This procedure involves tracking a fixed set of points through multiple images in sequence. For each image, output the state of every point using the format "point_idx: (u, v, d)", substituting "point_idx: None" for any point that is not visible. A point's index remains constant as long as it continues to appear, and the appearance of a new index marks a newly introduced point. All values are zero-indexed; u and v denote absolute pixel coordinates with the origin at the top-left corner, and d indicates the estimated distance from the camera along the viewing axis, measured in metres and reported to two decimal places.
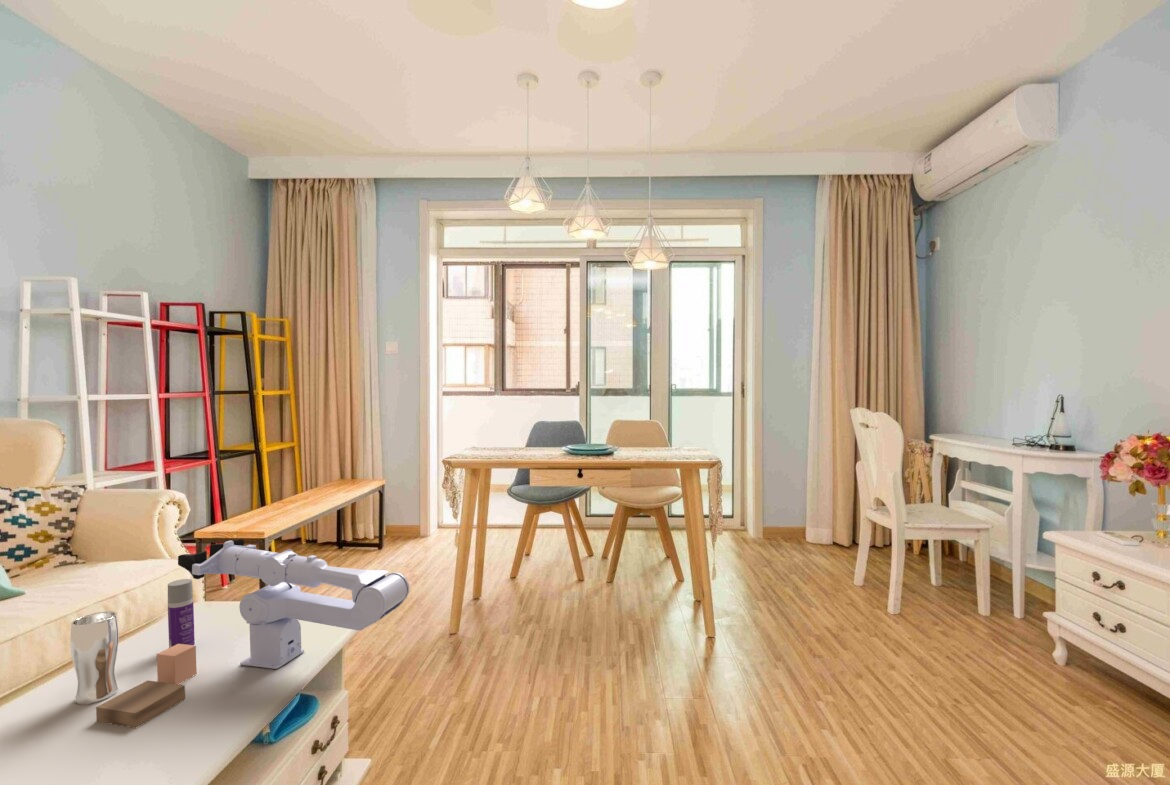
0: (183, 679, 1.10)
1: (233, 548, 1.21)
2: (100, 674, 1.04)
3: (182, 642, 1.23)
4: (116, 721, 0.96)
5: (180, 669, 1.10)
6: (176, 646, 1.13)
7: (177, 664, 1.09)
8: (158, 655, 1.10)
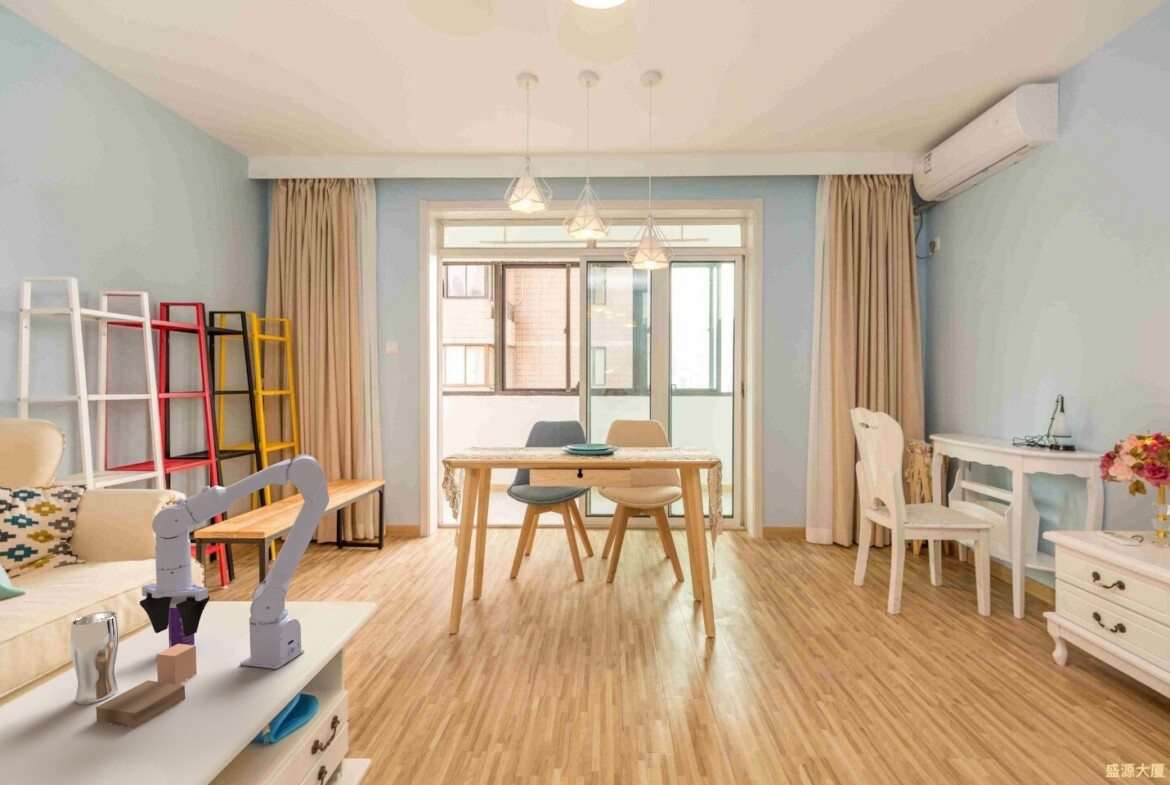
0: (183, 679, 1.10)
1: (162, 585, 1.08)
2: (100, 674, 1.04)
3: (182, 642, 1.23)
4: (116, 721, 0.96)
5: (180, 669, 1.10)
6: (176, 646, 1.13)
7: (177, 663, 1.09)
8: (158, 655, 1.10)
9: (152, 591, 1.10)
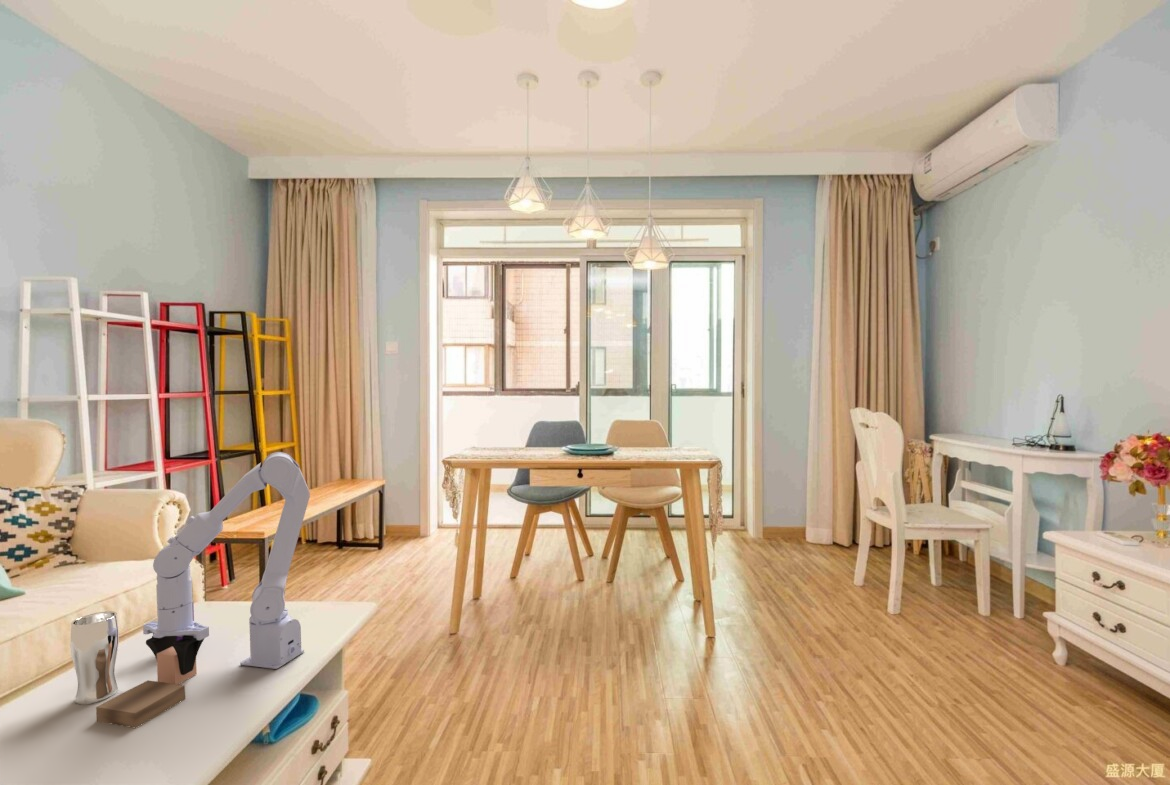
0: (183, 679, 1.10)
1: (163, 624, 1.09)
2: (100, 674, 1.04)
3: None
4: (116, 721, 0.96)
5: None
6: None
7: (177, 663, 1.09)
8: (158, 655, 1.10)
9: (153, 630, 1.10)
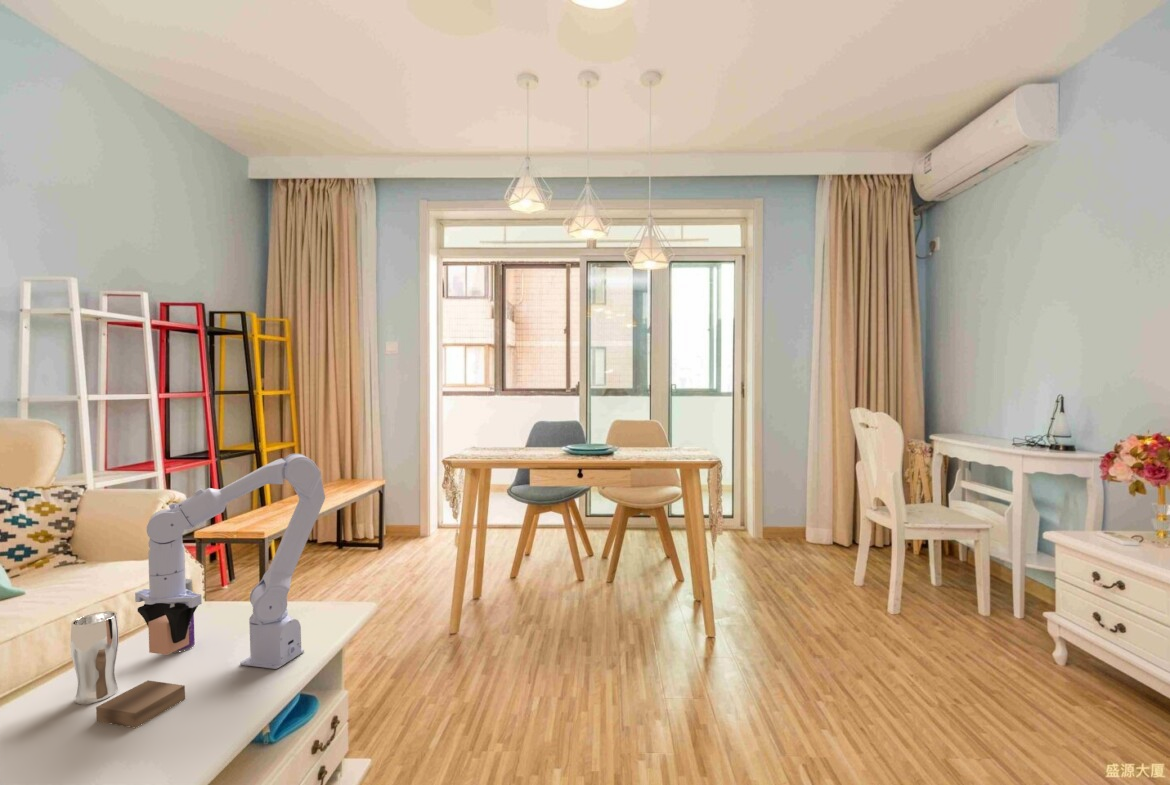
0: (175, 648, 1.08)
1: (155, 591, 1.06)
2: (100, 674, 1.04)
3: None
4: (116, 721, 0.96)
5: (171, 637, 1.08)
6: None
7: (169, 632, 1.07)
8: (150, 623, 1.08)
9: (145, 597, 1.08)
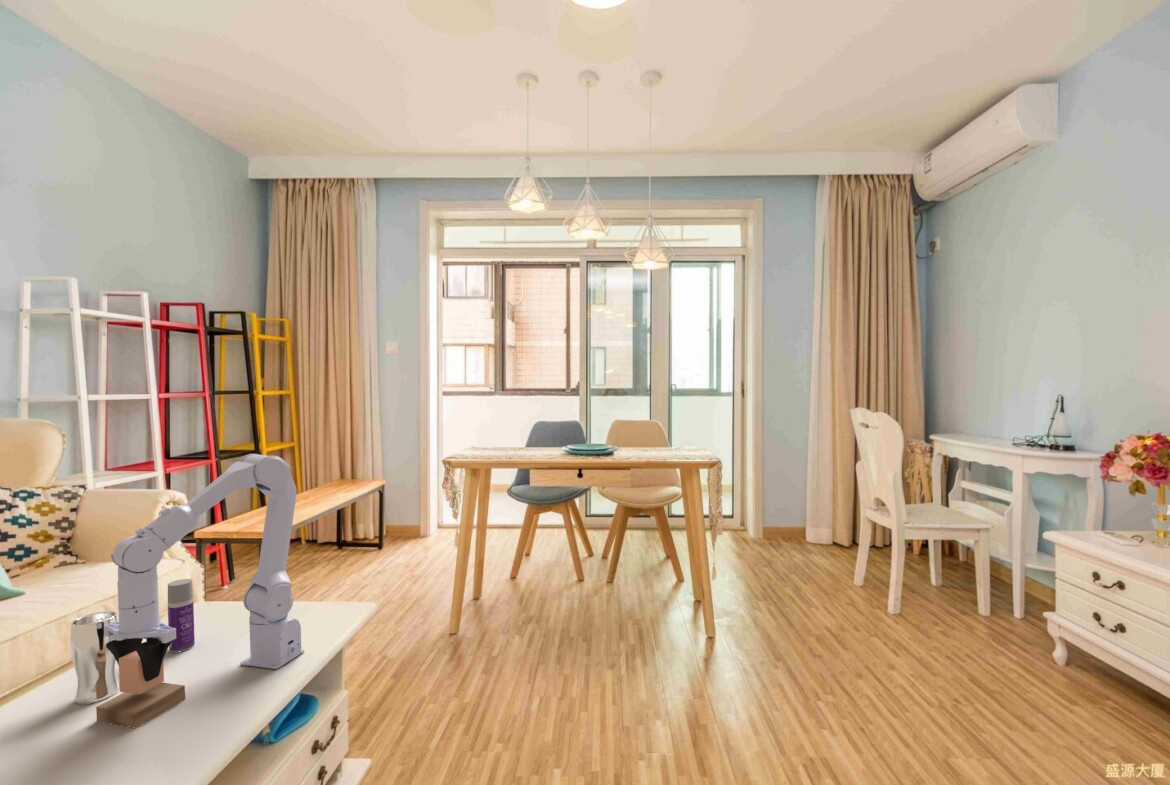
0: (148, 686, 1.00)
1: (124, 626, 0.98)
2: (100, 674, 1.04)
3: (182, 642, 1.23)
4: (116, 721, 0.96)
5: None
6: None
7: (141, 669, 0.99)
8: (120, 660, 0.99)
9: (114, 632, 0.99)
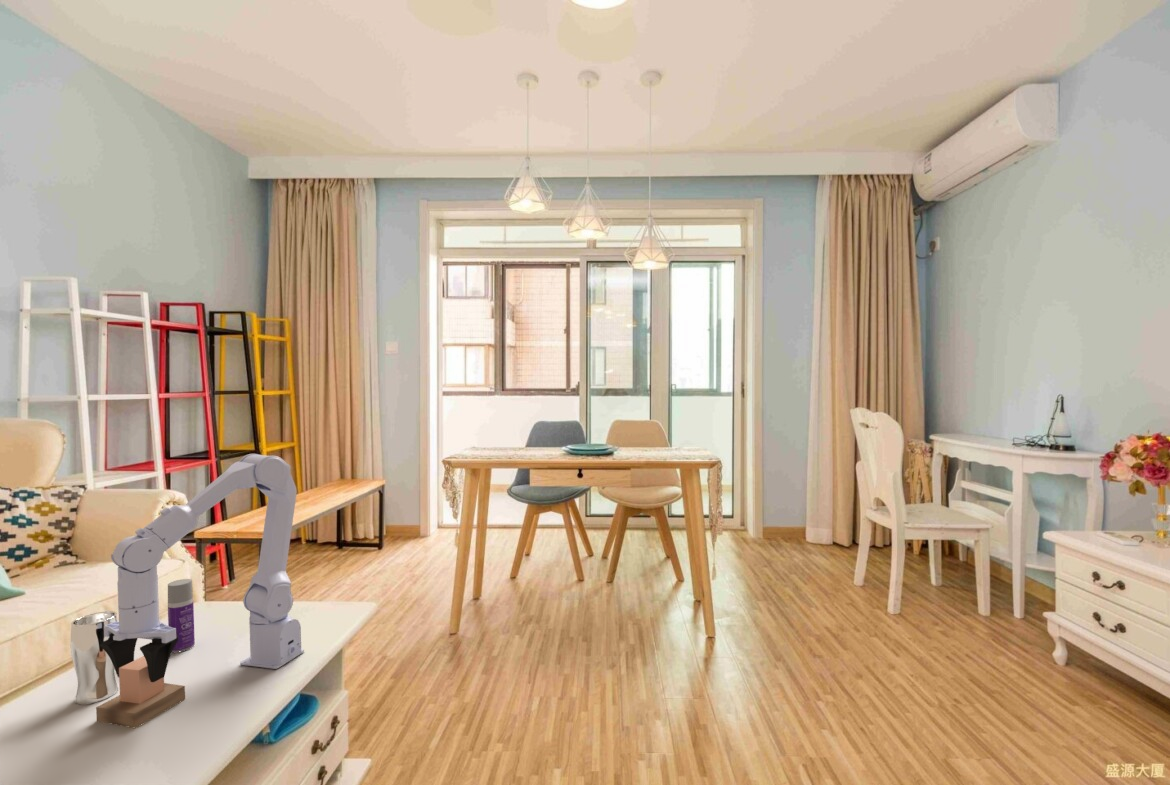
0: (149, 695, 1.00)
1: (124, 626, 0.98)
2: (100, 674, 1.04)
3: (182, 642, 1.23)
4: (116, 721, 0.96)
5: (145, 684, 0.99)
6: (141, 659, 1.02)
7: (142, 678, 0.99)
8: (120, 669, 0.99)
9: (114, 632, 0.99)
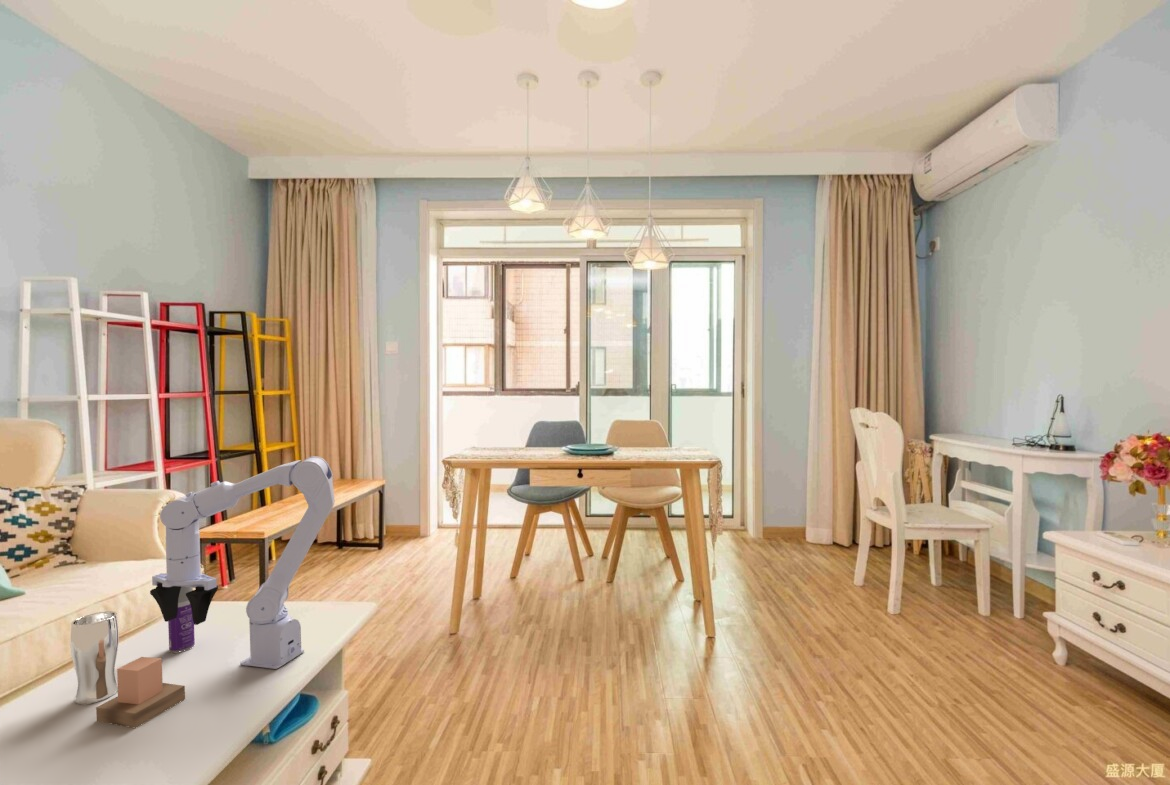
0: (147, 696, 1.00)
1: (172, 574, 1.12)
2: (100, 674, 1.04)
3: (182, 642, 1.23)
4: (116, 721, 0.96)
5: (143, 685, 0.99)
6: (139, 659, 1.02)
7: (141, 679, 0.99)
8: (119, 670, 0.99)
9: (162, 580, 1.13)
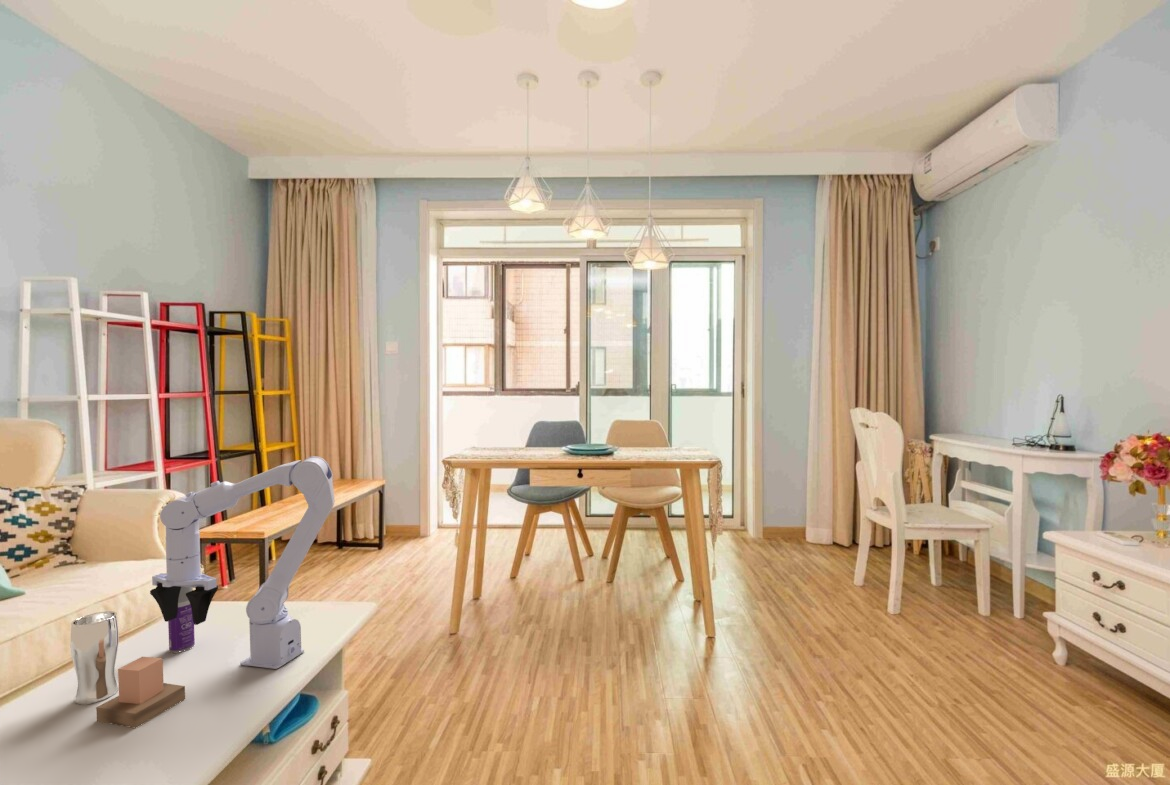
0: (149, 696, 1.00)
1: (172, 574, 1.12)
2: (100, 674, 1.04)
3: (182, 642, 1.23)
4: (116, 721, 0.96)
5: (145, 684, 0.99)
6: (140, 659, 1.02)
7: (142, 679, 0.99)
8: (119, 670, 0.99)
9: (162, 580, 1.13)
